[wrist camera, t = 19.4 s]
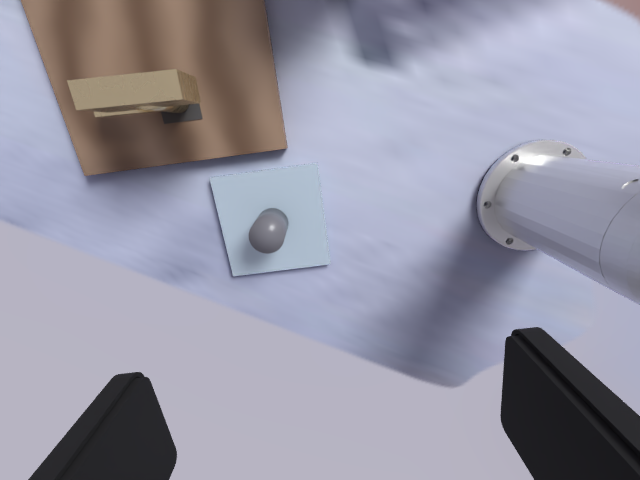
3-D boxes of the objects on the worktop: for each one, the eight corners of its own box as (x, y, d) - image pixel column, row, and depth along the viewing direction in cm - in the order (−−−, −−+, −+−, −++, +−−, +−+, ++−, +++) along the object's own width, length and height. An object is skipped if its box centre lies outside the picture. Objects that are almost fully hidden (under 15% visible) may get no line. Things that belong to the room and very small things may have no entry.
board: (242, -141, 28) (238, -156, 26) (287, 147, 36) (286, 148, 34) (-3, -100, 29) (-21, -112, 27) (93, 174, 36) (84, 176, 35)
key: (104, 94, 32) (25, 81, 23) (214, 82, 32) (175, 65, 23) (111, 119, 33) (37, 117, 24) (219, 109, 33) (183, 102, 24)
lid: (317, 162, 37) (317, 168, 31) (330, 259, 41) (332, 282, 34) (213, 176, 37) (192, 185, 31) (236, 271, 41) (221, 296, 35)
